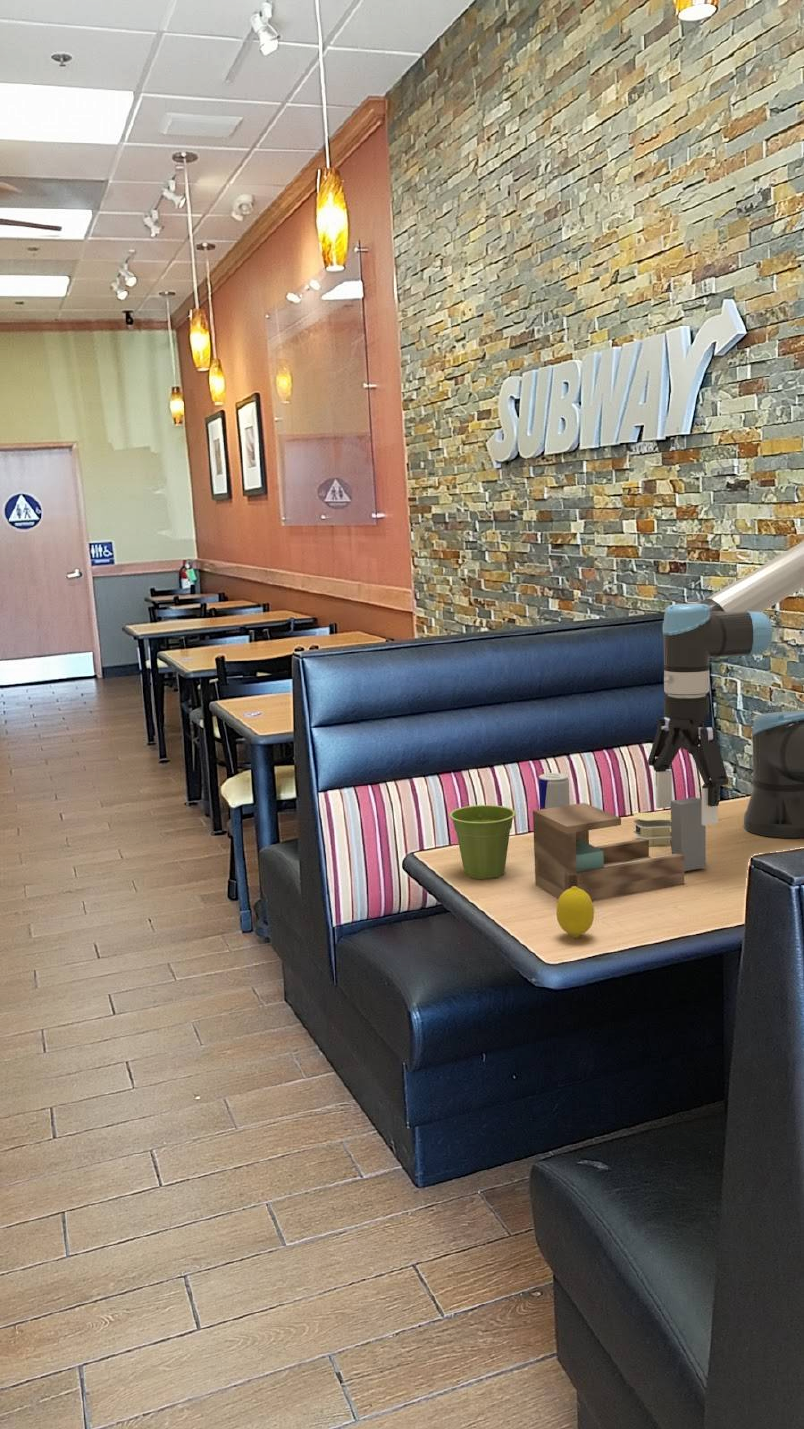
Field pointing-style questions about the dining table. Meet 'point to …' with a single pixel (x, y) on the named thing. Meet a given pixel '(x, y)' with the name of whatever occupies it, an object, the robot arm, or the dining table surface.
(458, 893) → the dining table surface
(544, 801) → the beverage can
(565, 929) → the lemon
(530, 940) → the dining table surface
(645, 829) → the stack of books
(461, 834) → the plant pot
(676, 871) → the walnut shelf
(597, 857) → the pull block
